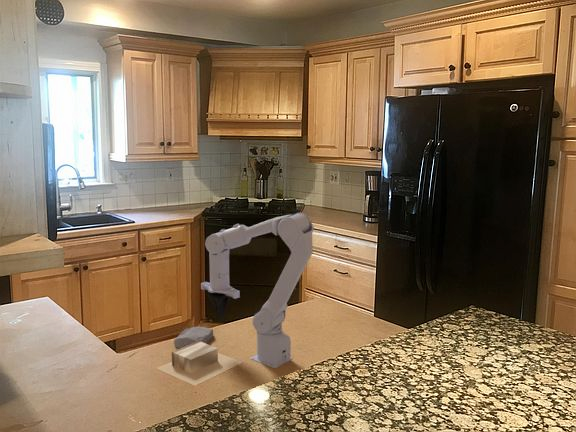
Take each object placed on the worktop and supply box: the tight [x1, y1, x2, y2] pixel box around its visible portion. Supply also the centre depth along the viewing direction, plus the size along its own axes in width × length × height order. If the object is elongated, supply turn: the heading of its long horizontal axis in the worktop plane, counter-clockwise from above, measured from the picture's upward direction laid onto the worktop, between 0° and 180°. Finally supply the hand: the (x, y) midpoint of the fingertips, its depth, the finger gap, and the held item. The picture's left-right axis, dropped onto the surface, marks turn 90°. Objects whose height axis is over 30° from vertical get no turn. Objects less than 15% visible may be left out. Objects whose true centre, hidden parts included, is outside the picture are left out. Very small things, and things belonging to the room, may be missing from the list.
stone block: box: [173, 326, 214, 349], centre depth 167 cm, size 12×5×10 cm
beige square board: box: [155, 352, 243, 387], centre depth 150 cm, size 16×18×1 cm
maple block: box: [171, 341, 219, 373], centre depth 151 cm, size 4×10×8 cm
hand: (220, 316), depth 160 cm, fingers closed
